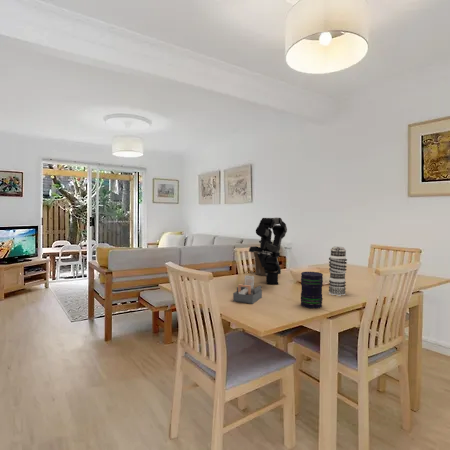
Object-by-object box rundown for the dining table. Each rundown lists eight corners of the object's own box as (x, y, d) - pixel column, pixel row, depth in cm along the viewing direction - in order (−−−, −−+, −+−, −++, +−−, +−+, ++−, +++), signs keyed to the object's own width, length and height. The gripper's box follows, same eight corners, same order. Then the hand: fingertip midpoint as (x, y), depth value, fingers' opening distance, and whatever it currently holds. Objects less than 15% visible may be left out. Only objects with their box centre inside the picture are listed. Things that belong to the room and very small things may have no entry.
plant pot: (249, 272, 232) (249, 249, 232) (270, 271, 237) (270, 249, 237) (258, 277, 217) (258, 252, 216) (280, 275, 222) (280, 252, 221)
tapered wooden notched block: (245, 289, 166) (245, 275, 165) (253, 290, 164) (254, 276, 163) (237, 293, 157) (237, 279, 156) (246, 294, 155) (246, 280, 154)
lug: (239, 292, 161) (239, 284, 160) (250, 293, 158) (251, 285, 158) (238, 292, 159) (238, 284, 159) (250, 294, 157) (250, 286, 157)
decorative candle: (334, 296, 169) (335, 248, 168) (324, 292, 178) (325, 246, 177) (350, 295, 171) (351, 247, 170) (339, 291, 180) (340, 246, 179)
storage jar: (306, 301, 161) (306, 270, 160) (325, 305, 154) (326, 273, 154) (296, 305, 153) (297, 273, 152) (316, 309, 147) (317, 276, 146)
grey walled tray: (243, 295, 171) (243, 283, 171) (261, 297, 167) (262, 285, 166) (233, 301, 159) (233, 288, 159) (252, 304, 155) (252, 291, 155)
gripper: (263, 235, 174) (260, 265, 171) (288, 242, 184) (285, 270, 181) (249, 236, 183) (246, 264, 179) (273, 242, 193) (271, 269, 190)
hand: (263, 267), depth 182 cm, fingers closed
